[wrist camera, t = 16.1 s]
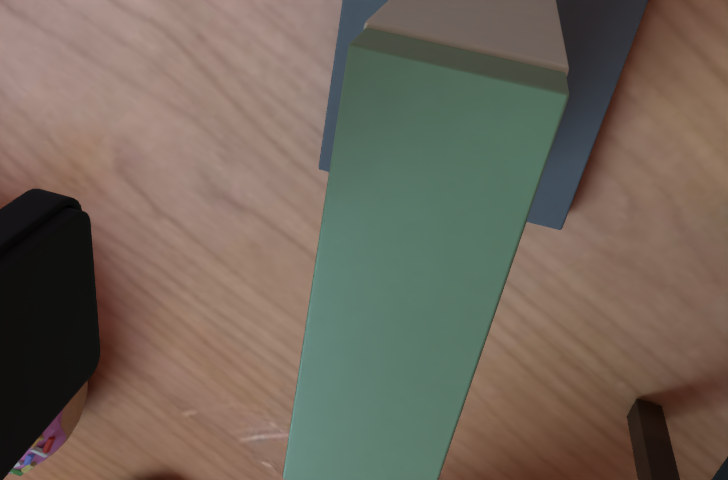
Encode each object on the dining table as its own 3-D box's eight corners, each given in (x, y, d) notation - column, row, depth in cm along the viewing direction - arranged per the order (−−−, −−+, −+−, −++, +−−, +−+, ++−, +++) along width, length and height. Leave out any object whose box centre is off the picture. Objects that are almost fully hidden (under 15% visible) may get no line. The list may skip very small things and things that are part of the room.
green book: (456, -65, 21) (348, 34, 9) (547, -45, 21) (574, 85, 8) (402, 182, 26) (281, 479, 13) (476, 200, 26) (424, 522, 13)
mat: (363, -104, 22) (357, -103, 22) (658, -43, 21) (663, -40, 21) (324, 160, 28) (318, 169, 27) (560, 219, 27) (561, 231, 26)
